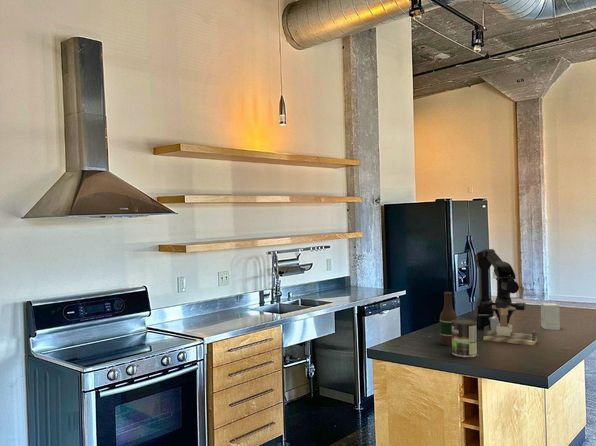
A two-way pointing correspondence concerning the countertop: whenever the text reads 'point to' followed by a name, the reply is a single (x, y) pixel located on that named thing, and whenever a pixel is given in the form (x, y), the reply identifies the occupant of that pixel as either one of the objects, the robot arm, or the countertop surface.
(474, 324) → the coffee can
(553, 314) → the supplement box
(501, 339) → the rail base
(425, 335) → the countertop surface
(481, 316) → the robot arm
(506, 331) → the carriage
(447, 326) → the beer bottle
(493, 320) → the box
